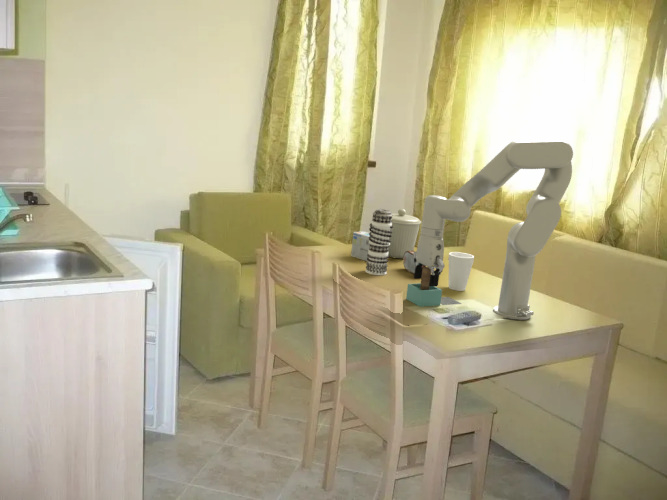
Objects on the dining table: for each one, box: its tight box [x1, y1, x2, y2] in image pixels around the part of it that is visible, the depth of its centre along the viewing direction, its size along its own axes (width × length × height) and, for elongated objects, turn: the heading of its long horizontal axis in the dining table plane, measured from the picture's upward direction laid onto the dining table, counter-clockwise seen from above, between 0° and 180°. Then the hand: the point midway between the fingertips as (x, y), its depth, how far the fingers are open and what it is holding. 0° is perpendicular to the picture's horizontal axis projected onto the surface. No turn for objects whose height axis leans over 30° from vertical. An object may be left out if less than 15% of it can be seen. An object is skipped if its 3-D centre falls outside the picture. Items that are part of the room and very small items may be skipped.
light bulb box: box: [350, 231, 370, 262], centre depth 296 cm, size 11×7×11 cm, turn 43°
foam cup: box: [447, 251, 475, 292], centre depth 262 cm, size 10×9×13 cm
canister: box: [388, 208, 422, 259], centre depth 306 cm, size 18×18×21 cm
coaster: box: [440, 296, 463, 306], centre depth 243 cm, size 8×8×1 cm
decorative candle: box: [365, 208, 393, 276], centre depth 272 cm, size 9×9×25 cm
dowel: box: [420, 266, 432, 290], centre depth 237 cm, size 3×3×12 cm
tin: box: [402, 250, 427, 275], centre depth 280 cm, size 15×3×8 cm, turn 22°
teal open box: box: [405, 282, 443, 307], centre depth 238 cm, size 8×8×6 cm
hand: (425, 282), depth 237 cm, fingers open, 8 cm apart
